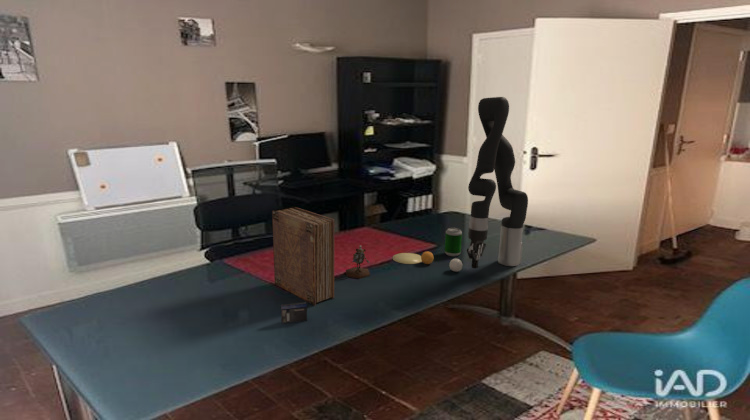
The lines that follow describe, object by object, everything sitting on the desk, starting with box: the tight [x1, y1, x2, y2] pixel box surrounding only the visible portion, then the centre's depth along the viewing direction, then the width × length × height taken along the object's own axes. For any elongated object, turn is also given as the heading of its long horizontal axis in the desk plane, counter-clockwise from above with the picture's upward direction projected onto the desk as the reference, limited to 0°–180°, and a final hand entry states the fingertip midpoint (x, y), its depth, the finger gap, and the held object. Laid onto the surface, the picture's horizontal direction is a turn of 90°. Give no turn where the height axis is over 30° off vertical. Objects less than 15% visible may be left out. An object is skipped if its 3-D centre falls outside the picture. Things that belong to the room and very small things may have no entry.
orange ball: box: [420, 251, 434, 265], centre depth 214 cm, size 6×6×6 cm
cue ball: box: [448, 258, 463, 273], centre depth 206 cm, size 6×6×6 cm
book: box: [271, 206, 335, 307], centre depth 180 cm, size 25×9×30 cm, turn 44°
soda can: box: [444, 227, 463, 257], centre depth 226 cm, size 8×8×12 cm
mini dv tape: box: [280, 301, 308, 324], centre depth 160 cm, size 8×2×6 cm, turn 106°
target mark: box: [392, 252, 423, 265], centre depth 221 cm, size 14×14×1 cm
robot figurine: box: [345, 245, 371, 280], centre depth 200 cm, size 11×9×12 cm
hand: (474, 267), depth 201 cm, fingers closed
